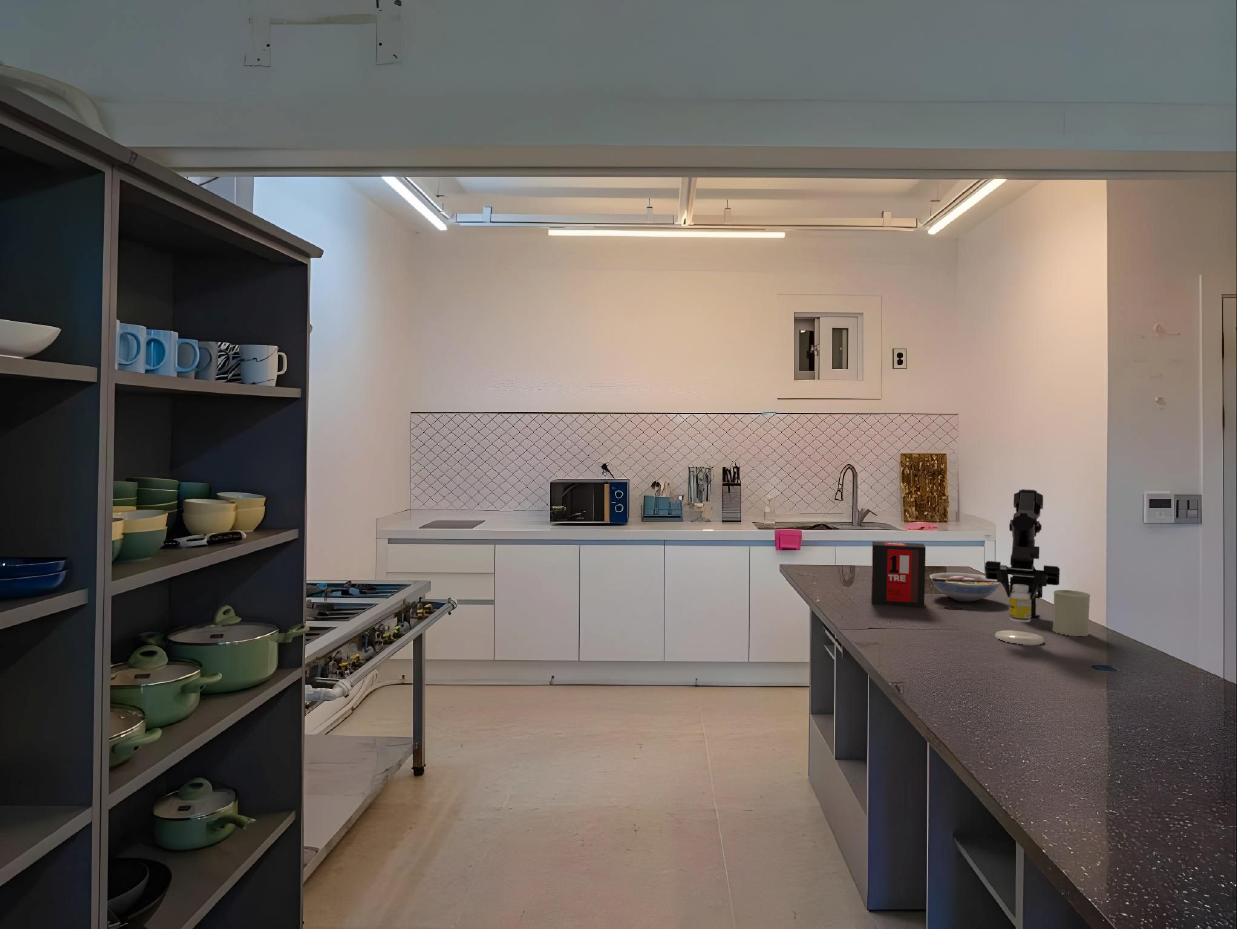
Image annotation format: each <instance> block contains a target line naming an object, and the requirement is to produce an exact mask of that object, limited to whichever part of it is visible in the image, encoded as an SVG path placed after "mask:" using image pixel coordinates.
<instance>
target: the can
mask: <svg viewBox="0 0 1237 929" xmlns="http://www.w3.org/2000/svg"><path fill="white" fill-rule="evenodd" d="M1090 598H1091V594H1089V593H1088V592H1085V591H1084V592H1083V591H1079V590H1070V589H1068V590H1067V589H1059V590H1054V591H1053V614H1052V615H1053V619H1052V628H1051V631H1052V632H1053V631H1055V632H1056V634H1058V633H1060V634H1059V635H1062V634H1065V635H1064V636H1067V635H1069V637H1077V636H1082V637H1088V636H1089V635H1090V632H1089V626H1090V624H1089V622H1090ZM1055 632H1054V633H1055Z"/></svg>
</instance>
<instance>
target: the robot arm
mask: <svg viewBox="0 0 1237 929" xmlns="http://www.w3.org/2000/svg"><path fill="white" fill-rule="evenodd" d="M1013 509H1015V513H1013V516H1012V519H1009V520H1010V521H1009V524H1008V525H1009V526H1008V528H1009V531H1010V532H1012V534H1011V536H1012V548H1011V555H1010V561H1009V562H1010V566H1008V565H1005V564H1001V561H997V560H995V561H993V560H987V561H986V562H985V563H984V573H985V575H984V576H986V578H987V579H992V580H997V582H1001V586H1002V587H1003V588H1004V591H1005V593H1006V596H1007V598H1010V593H1012V592H1013V591H1014V590H1013V585H1014V584H1023V585H1027V586H1029V590H1028V593H1029V594H1030V595H1031V618H1040V617H1041V615H1039V614H1037V602H1036V601H1037V599H1042V598H1043V587H1047V585H1050V586H1059V585H1060V576H1061V575H1060V574H1061V573H1060V572H1061V569H1060V567H1059V566H1057V565H1047V564H1046V565H1043V570H1042V569H1036V567H1035V566H1034V565H1035V564H1034V562H1035V560H1039V559H1040V546H1036V545H1035V544H1036V539H1035V537H1036V536H1037V534H1039V533H1040V532H1041V531H1042V524H1041V522H1040V521H1039V520H1038V519H1039V518H1040V516H1041V510H1044V495H1043V494H1041V493H1039V492H1038V490H1035V489H1025V488H1024V489H1018V492H1016V493H1013ZM1009 575H1011V576H1010V578H1009ZM1009 582H1010V583H1009Z"/></svg>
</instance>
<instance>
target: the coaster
mask: <svg viewBox="0 0 1237 929" xmlns="http://www.w3.org/2000/svg"><path fill="white" fill-rule="evenodd" d="M994 636H995V639H996V638H997V639H996V640H998V639H1000V640H1003V641H1005V642H1004V643H1007V642H1010V643H1009V644H1012V643H1017V644H1016V645H1018V644H1023V645H1022V646H1040V644H1041V645H1043V644H1044V643H1043V642H1044V641H1045V639H1044V637H1043V636H1041V635H1040V634H1036V633H1033V632H1028V631H1023V630H1022V631H1021V630H1000V631H996V632H995V635H994ZM1000 640H999V641H1000ZM1003 641H1002V642H1003ZM1042 643H1043V644H1042Z"/></svg>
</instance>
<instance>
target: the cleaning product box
mask: <svg viewBox="0 0 1237 929" xmlns="http://www.w3.org/2000/svg"><path fill="white" fill-rule="evenodd" d="M871 545H872V546H871V547H872V548H871V596H870V597H871V598H870V601H871V605H883V606H893V607H894V606H897V607H910V608H911V607H912V608H914V607H915V608H925V595H926V594H925V593H926V591H925V590H926V589H925V588H926V554H927V553H926V551H927V550H926V548H927V547H926V545H925V543H915V542H892V541H891V542H890V541H872V544H871Z"/></svg>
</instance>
